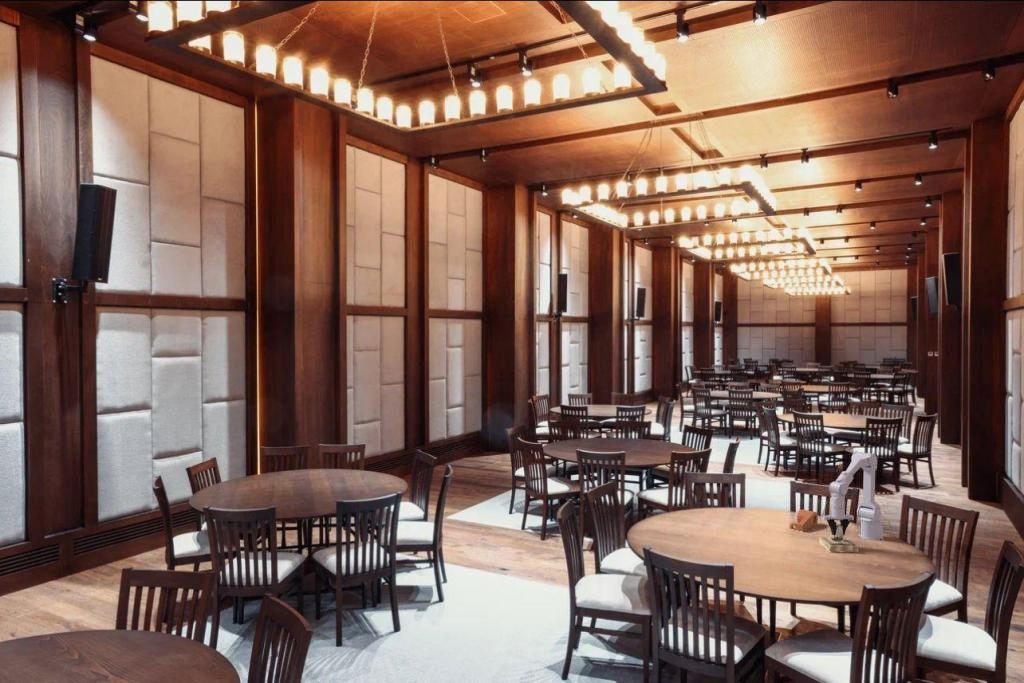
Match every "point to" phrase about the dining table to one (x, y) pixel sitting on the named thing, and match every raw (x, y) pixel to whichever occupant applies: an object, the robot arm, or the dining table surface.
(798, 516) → the brown blocky piece
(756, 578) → the dining table surface
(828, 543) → the jig
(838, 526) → the bushing
